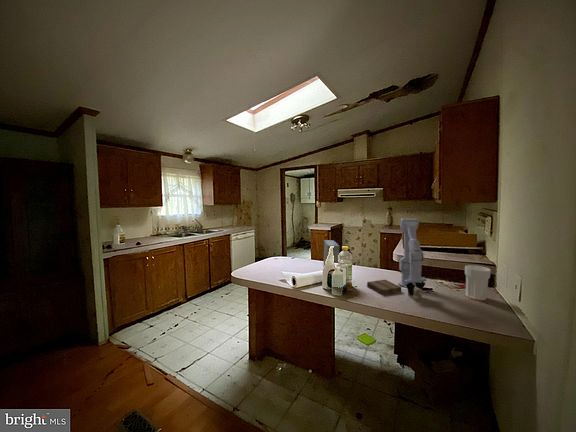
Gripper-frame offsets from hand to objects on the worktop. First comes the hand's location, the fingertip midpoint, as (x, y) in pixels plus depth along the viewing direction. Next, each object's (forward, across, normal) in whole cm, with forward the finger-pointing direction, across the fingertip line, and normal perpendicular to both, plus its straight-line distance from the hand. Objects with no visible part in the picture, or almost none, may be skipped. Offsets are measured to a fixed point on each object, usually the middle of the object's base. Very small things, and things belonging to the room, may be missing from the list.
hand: (414, 294), depth 133 cm
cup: (+2, +32, -12) cm, 34 cm away
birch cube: (+1, 0, 0) cm, 1 cm away
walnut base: (+1, -9, +15) cm, 18 cm away
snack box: (+2, -30, +45) cm, 54 cm away
